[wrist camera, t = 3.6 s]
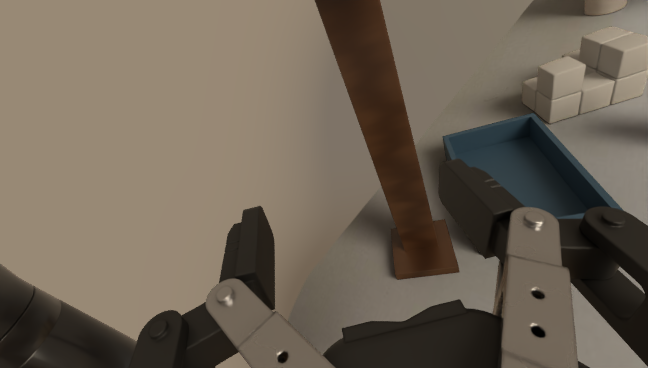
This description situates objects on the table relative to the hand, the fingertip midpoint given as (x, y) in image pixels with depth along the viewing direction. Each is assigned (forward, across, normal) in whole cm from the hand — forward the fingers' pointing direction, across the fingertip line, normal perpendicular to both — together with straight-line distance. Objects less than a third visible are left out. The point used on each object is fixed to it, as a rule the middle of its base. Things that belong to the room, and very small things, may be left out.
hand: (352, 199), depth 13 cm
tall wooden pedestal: (+14, -9, +22) cm, 27 cm away
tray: (+18, -23, +19) cm, 35 cm away
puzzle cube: (+31, -41, +15) cm, 54 cm away
